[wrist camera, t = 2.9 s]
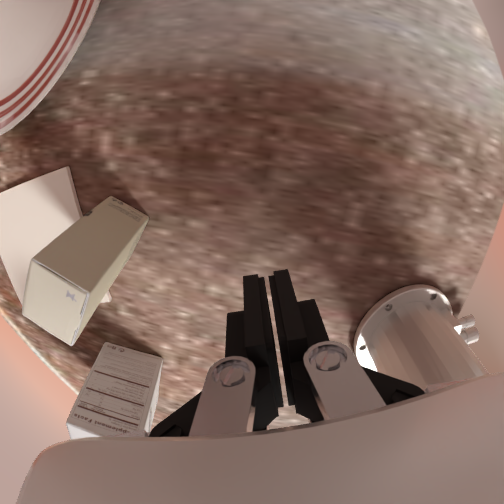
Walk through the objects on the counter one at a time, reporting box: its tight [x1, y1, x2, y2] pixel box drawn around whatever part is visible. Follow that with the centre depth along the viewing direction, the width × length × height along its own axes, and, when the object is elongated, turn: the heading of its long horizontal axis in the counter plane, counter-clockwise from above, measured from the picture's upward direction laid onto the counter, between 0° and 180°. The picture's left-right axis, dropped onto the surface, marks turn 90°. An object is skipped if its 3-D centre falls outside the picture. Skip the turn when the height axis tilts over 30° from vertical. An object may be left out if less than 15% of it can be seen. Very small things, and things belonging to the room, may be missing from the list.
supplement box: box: [66, 342, 163, 439], centre depth 29 cm, size 7×7×13 cm
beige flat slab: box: [0, 166, 112, 306], centre depth 28 cm, size 13×14×1 cm
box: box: [22, 196, 149, 346], centre depth 22 cm, size 5×4×13 cm
